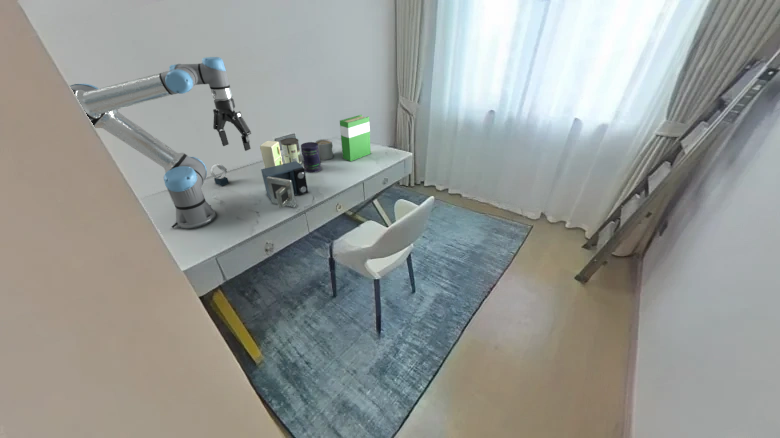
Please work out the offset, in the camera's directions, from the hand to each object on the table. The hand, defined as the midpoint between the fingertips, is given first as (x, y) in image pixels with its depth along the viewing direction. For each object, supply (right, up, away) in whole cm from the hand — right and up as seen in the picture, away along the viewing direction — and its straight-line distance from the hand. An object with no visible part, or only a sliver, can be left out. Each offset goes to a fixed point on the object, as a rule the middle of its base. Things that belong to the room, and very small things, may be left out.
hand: (236, 147), depth 144 cm
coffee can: (+10, +2, +52) cm, 53 cm away
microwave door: (+17, -27, +7) cm, 33 cm away
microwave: (+17, -20, +19) cm, 32 cm away
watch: (-22, -13, +29) cm, 38 cm away
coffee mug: (+29, +8, +62) cm, 69 cm away
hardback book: (+48, +8, +62) cm, 79 cm away
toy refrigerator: (+7, -11, +32) cm, 35 cm away
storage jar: (+24, -3, +44) cm, 51 cm away
